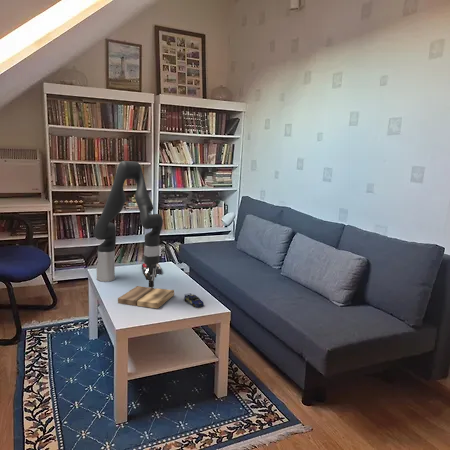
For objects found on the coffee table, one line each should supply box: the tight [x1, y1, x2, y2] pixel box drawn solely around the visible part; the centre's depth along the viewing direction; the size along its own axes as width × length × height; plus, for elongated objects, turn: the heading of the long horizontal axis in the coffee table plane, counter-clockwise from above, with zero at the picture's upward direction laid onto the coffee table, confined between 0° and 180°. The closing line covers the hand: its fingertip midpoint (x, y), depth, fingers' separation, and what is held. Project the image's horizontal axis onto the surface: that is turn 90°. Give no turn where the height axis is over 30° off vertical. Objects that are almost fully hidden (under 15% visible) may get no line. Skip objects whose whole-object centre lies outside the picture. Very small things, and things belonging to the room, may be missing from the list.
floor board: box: [117, 285, 155, 307], centre depth 204 cm, size 10×20×3 cm, turn 164°
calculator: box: [141, 263, 163, 275], centre depth 251 cm, size 11×4×15 cm
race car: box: [183, 293, 205, 310], centre depth 200 cm, size 15×7×4 cm, turn 43°
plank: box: [136, 287, 175, 309], centre depth 201 cm, size 11×20×3 cm, turn 164°
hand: (151, 287), depth 201 cm, fingers closed
